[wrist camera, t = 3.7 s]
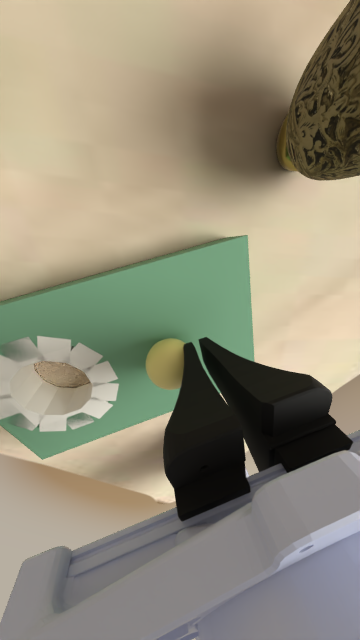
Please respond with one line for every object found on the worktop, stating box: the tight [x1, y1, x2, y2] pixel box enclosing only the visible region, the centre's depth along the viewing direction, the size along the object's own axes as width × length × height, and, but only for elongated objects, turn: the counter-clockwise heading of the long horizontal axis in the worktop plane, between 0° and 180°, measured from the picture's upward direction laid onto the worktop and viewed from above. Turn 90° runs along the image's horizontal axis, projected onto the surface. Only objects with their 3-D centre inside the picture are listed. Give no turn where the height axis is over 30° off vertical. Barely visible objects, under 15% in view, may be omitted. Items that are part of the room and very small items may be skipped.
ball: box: [146, 338, 186, 390], centre depth 12 cm, size 4×4×4 cm
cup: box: [276, 0, 360, 180], centre depth 9 cm, size 8×7×8 cm
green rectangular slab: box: [0, 235, 254, 460], centre depth 15 cm, size 14×22×3 cm, turn 104°
